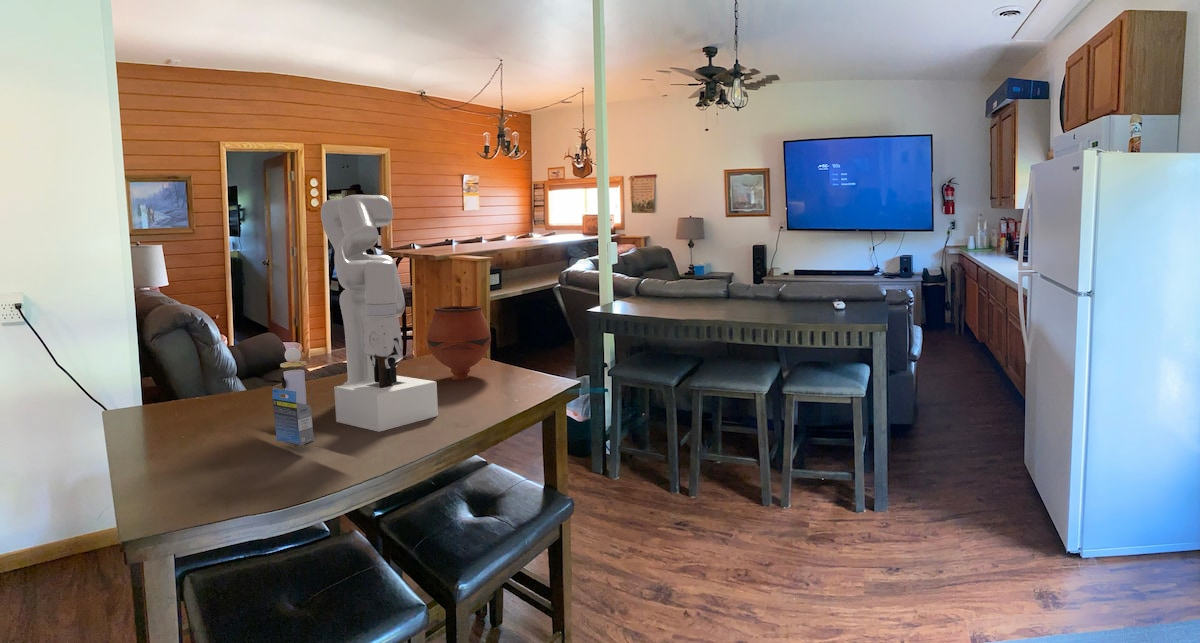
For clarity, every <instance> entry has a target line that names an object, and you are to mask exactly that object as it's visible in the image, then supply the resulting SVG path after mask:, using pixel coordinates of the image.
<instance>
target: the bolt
mask: <svg viewBox="0 0 1200 643" xmlns="http://www.w3.org/2000/svg"><path fill="white" fill-rule="evenodd" d="M390 355H394V352H393V353H392V354H390ZM390 355H389V356H390ZM374 358H375V359H378V366H379V369H378V370H379V384H380V385H379V388H385V387H389V386H392V383H391V384H385V377H384V369H385V368H386V366H385V359H387V358H386V357H380V356H377V355H376V354H375V356H374ZM393 358H394V357H393ZM391 359H392V358H389V361H390V360H391Z"/></svg>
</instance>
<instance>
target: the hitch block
mask: <svg viewBox="0 0 1200 643" xmlns="http://www.w3.org/2000/svg"><path fill="white" fill-rule="evenodd" d="M396 377H397V382H396V383H392V386H389V387H385V388H379V385H380V384H379V382H375V379H371V380H366V381H361V382H356V383H351V384H346V385H343V384H341V385H337V386H334V387H333V388H334V405H335V406H334V407H335V421H336V423H339V424H344V425H349V426H353V427H357V428H361V429H365V430H370V431H375V432H377V433H378V432H383V431H386V430H388V431H389V430H391V429H394V428H398V427H402V426H405V425H409V424H413V423H417V422H421V421H424V420H428V419H432V418H434V417H435V418H436V417H438V416H439V410H438V409H439V404H438V402H439V401H438V387H437V386H438V385H437V381H434V380H429V379H428V380H427V379H421V378H414V377H409V376H402V375H397V374H396Z"/></svg>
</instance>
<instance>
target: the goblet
mask: <svg viewBox="0 0 1200 643" xmlns="http://www.w3.org/2000/svg"><path fill="white" fill-rule="evenodd" d="M433 311H434V312H433V316H432V319H431V321H430V324H429V328H428V331H427V337H426V342H427V347H428V350H429V352H430V353H431V355H432V356H433V357H434V358H435V359H436V360H437V361H438V362H440V363H441V364H442V365H444V366H446V367H448V368H450V373H452V377H451V380H454V381H463V380H467V379H468V378H470V376H469V373H470V372H471V368H472V367H474V366H475V365H476V364H478V363H479V362H480V361H481V360H483V358H484V357H485V355H486V354H487V353H488V351H489V349H490V346H491V344H492V335H491V331H490V326H489V324H488V321H487V319H486V317H485V315H484V312H483V310H482V305H466V306H465V305H463V306H462V305H451V306H439V307H434V309H433Z"/></svg>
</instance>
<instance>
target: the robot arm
mask: <svg viewBox="0 0 1200 643" xmlns="http://www.w3.org/2000/svg"><path fill="white" fill-rule="evenodd" d="M393 208H394V207H393V204H392V203H391V201H390V199H389V198H388V197H387V196H385V195H381V194H380V195H379V194H351V195H347V196H344V197H341V198H338V197H337V198H332V199H328V200H326V201H324V202H323V203H322V204H321V208H320V218H321V224H322V228H323V231H324V233H325V235H326V237H327V239H328V240H329V242H330V244H331V246H332V247H333V250H334V256H333V260H334V263H333V264H334V268H335V272H336V275H337V280H338V283H339V285H340V286H341V287H342V288H343V290H342V292H341V293H340V294H339V306H340V307H339V308H340V310H341V311H340V312H341V315H342V316H341V317H342V321H343V329H344V337H345V338H344V340H345V353H346V354H345V355H346V368H347V369H346V371H347V380H346V381H345V382H344V383H343V384H342V385H346V384H351V383H356V382H361V381H366V380H371V379H375V382H379V370H378V369H379V366H378V359H375V358H374V356H375V354H376V355H377V356H380V357H386V358H387V359H385V366H386V368H385V369H384V377H385V384H391V383H396V382H397V377H396V375H397V368H398V365H399V362H400V361H401V360H403V358H404V355H403V352H402V351H403V339H402V338H403V337H402V331H401V325H400V320H399V317H401V316H402V315H403V314H404V312H405V308H406V301H405V296H404V290H403V287H402V283H401V280H400V274H399V270H398V267H397V264H396V261H395V260H394V259H393V257H392V256H389V255H387V254H368V253H367V250H369V249H371V248H373V247H374V246H375V245H376V244H377V243H378V241H379V237H380V234H379V231H378V228H381V227H387V226H389V225H390V224H391V223H392V221H393V219H394V209H393ZM393 352H394V355H390V354H392V353H393ZM389 355H390V356H389ZM393 357H394V358H393ZM389 358H392V359H391V360H390V361H389Z"/></svg>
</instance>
